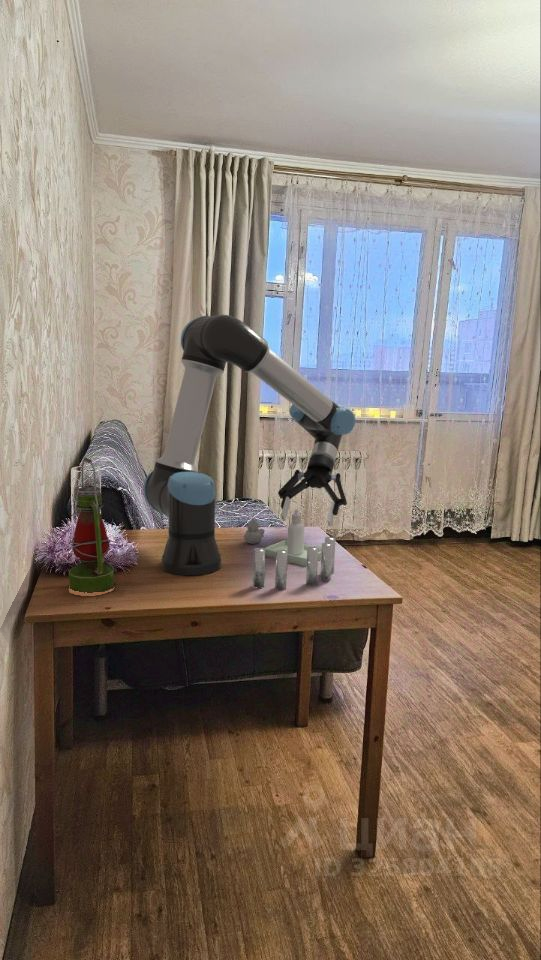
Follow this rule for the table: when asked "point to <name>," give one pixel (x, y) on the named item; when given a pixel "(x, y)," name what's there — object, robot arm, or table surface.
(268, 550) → the tray
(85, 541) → the lantern
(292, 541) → the eye dropper bottle
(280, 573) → the spacers
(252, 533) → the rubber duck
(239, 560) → the table surface
